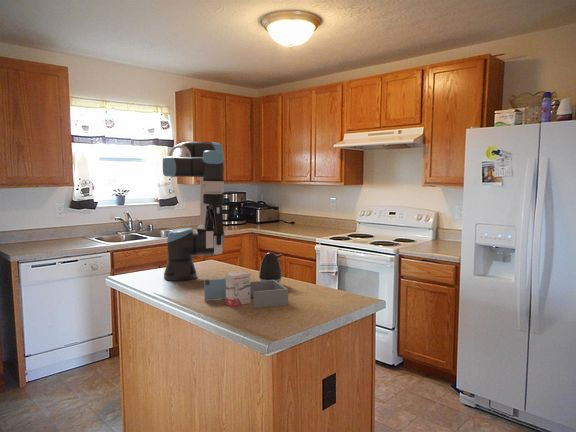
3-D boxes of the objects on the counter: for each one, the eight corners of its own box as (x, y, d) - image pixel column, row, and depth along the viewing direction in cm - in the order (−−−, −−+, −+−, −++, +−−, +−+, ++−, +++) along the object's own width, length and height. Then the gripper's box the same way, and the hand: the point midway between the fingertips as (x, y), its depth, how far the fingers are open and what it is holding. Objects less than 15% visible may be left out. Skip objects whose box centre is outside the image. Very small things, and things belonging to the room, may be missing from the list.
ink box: (231, 307, 156) (231, 275, 155) (224, 304, 160) (224, 273, 159) (251, 302, 162) (251, 272, 161) (243, 300, 166) (244, 270, 165)
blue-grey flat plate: (237, 296, 169) (237, 277, 168) (237, 297, 168) (237, 277, 167) (204, 299, 164) (204, 279, 163) (204, 300, 163) (204, 280, 162)
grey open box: (238, 297, 169) (238, 275, 169) (273, 293, 175) (273, 272, 174) (249, 308, 154) (249, 284, 154) (288, 304, 160) (288, 281, 159)
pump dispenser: (279, 288, 183) (279, 254, 182) (256, 287, 185) (256, 253, 184) (284, 283, 193) (284, 250, 192) (262, 281, 195) (262, 249, 194)
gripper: (196, 192, 164) (197, 246, 166) (210, 194, 141) (211, 257, 143) (215, 192, 167) (215, 245, 168) (232, 194, 144) (232, 255, 146)
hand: (213, 250), depth 156 cm, fingers open, 13 cm apart
